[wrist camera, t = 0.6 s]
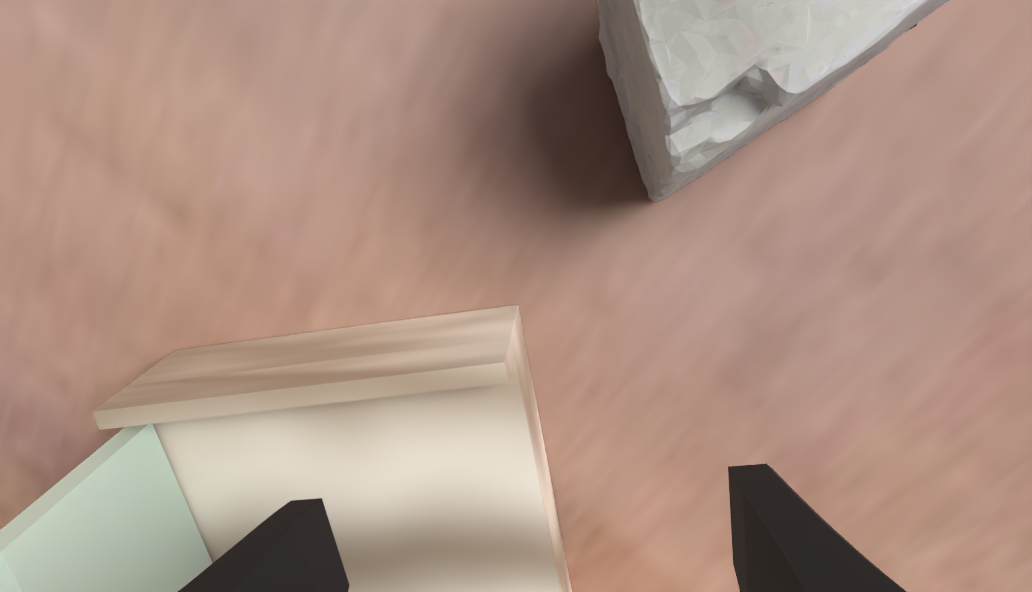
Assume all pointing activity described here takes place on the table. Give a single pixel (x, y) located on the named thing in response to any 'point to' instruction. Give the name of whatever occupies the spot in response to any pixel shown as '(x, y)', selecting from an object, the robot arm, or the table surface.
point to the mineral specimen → (731, 70)
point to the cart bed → (368, 447)
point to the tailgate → (107, 526)
